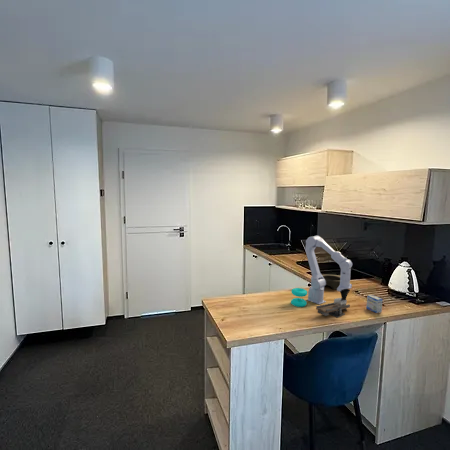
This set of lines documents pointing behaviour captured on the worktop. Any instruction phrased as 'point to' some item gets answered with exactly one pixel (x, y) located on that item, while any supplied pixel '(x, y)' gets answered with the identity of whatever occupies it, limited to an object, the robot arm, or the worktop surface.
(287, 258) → the worktop surface
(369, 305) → the medicine box
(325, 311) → the beam
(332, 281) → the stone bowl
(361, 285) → the worktop surface
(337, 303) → the block
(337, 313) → the pivot stand
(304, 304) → the donuts
